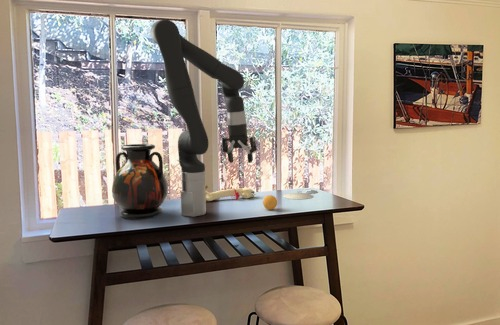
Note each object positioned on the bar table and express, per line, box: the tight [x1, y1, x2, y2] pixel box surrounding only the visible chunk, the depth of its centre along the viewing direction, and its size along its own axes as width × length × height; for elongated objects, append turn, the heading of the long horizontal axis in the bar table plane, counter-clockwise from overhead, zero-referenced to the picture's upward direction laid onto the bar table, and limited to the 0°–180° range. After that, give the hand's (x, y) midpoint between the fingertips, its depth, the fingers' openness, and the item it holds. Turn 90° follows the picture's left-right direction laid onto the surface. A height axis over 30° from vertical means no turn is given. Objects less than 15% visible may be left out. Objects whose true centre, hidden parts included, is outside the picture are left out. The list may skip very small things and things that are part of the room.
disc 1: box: [283, 192, 314, 200], centre depth 204 cm, size 14×14×1 cm
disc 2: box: [296, 189, 318, 195], centre depth 214 cm, size 10×10×1 cm
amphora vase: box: [111, 143, 169, 220], centre depth 170 cm, size 22×22×28 cm
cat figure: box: [205, 184, 256, 202], centre depth 199 cm, size 10×9×25 cm
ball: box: [262, 194, 278, 211], centre depth 178 cm, size 6×6×6 cm
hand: (240, 162), depth 175 cm, fingers open, 8 cm apart
